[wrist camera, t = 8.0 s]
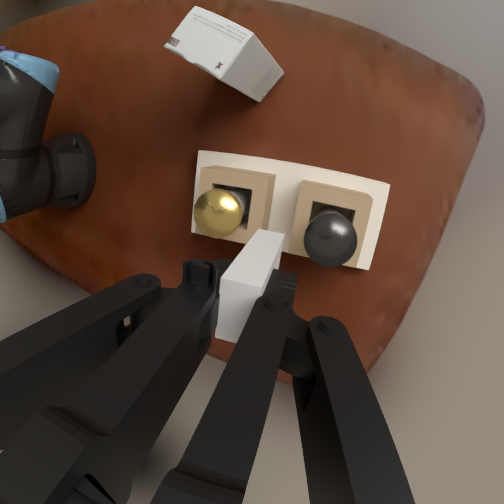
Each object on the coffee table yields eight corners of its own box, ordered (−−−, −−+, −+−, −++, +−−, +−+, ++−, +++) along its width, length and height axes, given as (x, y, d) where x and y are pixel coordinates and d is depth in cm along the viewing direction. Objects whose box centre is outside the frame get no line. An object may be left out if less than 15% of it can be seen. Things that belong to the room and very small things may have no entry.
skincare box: (285, 73, 34) (261, 32, 20) (258, 105, 36) (221, 81, 22) (238, 44, 33) (195, 1, 20) (213, 75, 36) (160, 46, 22)
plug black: (305, 234, 37) (298, 260, 28) (313, 195, 35) (309, 209, 26) (345, 243, 36) (350, 272, 27) (354, 204, 34) (363, 221, 26)
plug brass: (220, 215, 40) (191, 233, 32) (224, 178, 38) (195, 186, 30) (256, 222, 39) (236, 242, 31) (262, 184, 37) (242, 194, 29)
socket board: (196, 228, 44) (175, 241, 38) (204, 150, 40) (181, 150, 34) (367, 264, 40) (373, 285, 33) (387, 183, 35) (399, 189, 29)
